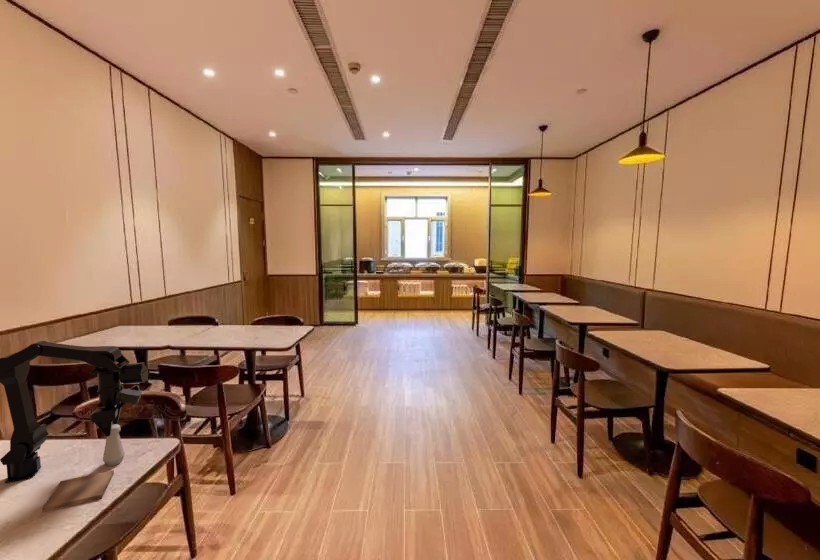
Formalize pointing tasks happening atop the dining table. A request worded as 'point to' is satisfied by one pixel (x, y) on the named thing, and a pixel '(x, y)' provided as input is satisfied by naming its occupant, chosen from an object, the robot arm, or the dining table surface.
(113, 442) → the salt shaker
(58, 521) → the dining table surface
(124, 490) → the dining table surface
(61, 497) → the walnut board
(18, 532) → the dining table surface
